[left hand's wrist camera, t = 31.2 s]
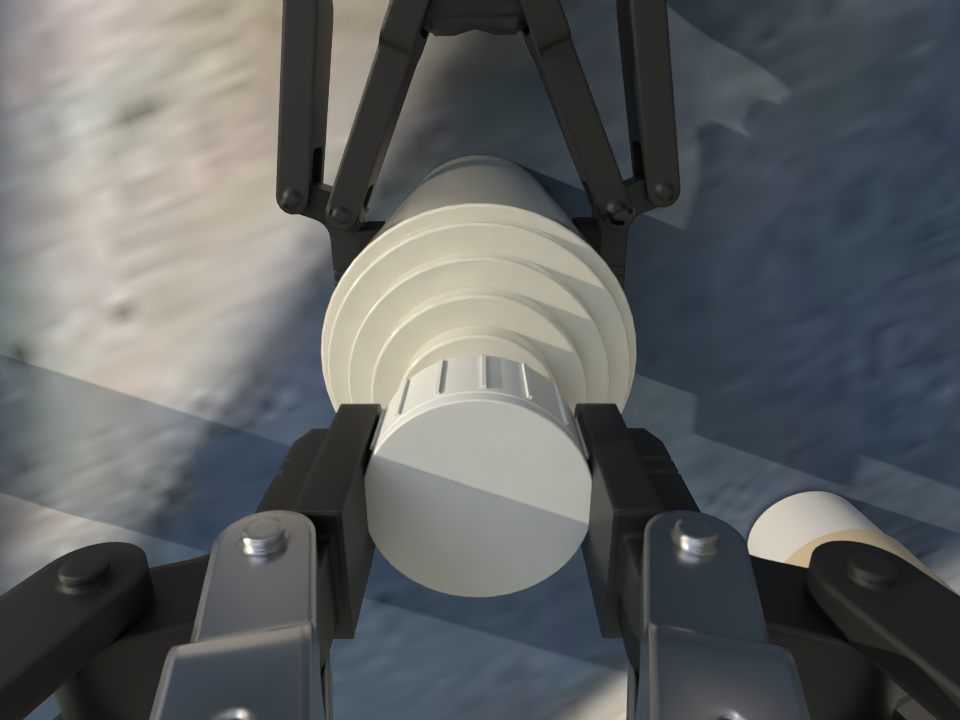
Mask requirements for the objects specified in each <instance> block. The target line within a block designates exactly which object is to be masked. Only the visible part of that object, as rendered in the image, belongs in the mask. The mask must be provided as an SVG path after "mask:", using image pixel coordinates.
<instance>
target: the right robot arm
mask: <svg viewBox="0 0 960 720" xmlns="http://www.w3.org/2000/svg"><path fill="white" fill-rule="evenodd" d="M616 5H617V22H618V32H619V41H620V51H621V61H622V71H623V81H624V91H625V101H626V110H627V120H628V130H629V140H630V150H631V160H632V170H633V177H632V178H630V179H627V180H624V181H623V179H622V177H621V174H620V171H619V169H618V166H617V163H616V160H615V158H614V155H613V152H612V149H611V147H610V144H609V141H608V138H607V136H606V133H605V130H604V127H603V125H602V122H601V119H600V116H599V114H598V111H597V108H596V106H595V103H594V100H593V97H592V95H591V92H590V89H589V86H588V84H587V81H586V78H585V75H584V73H583V70H582V67H581V64H580V62H579V59H578V56H577V54H576V51H575V48H574V45H573V42H572V39H571V33H570V28H569V25H568V22H567V19H566V16H565V14H564V11H563V8H562V5H561V3H560V0H390V2H389V6H388V9H387V12H386V15H385V18H384V21H383V24H382V28H381V31H380V37H379V44H378V48H377V51H376V54H375V57H374V61H373V64H372V67H371V70H370V73H369V76H368V79H367V82H366V86H365V89H364V92H363V95H362V98H361V101H360V104H359V107H358V110H357V114H356V117H355V120H354V123H353V126H352V129H351V132H350V135H349V138H348V142H347V145H346V148H345V151H344V154H343V157H342V160H341V163H340V166H339V170H338V173H337V176H336V179H335V182H334V185H333V186H330V185H327V184H324V183H323V176H324V160H325V144H326V128H327V112H328V96H329V80H330V64H331V48H332V32H333V2H332V0H283V20H282V47H281V75H280V102H279V130H278V157H277V185H276V199H277V203H278V205H279V207H280V208H281V209H282V210H283V211H284V212H286V213H289V214H300V215H303V216H306V217H309V218H312V219H315V220H317V221H319V222H321V223H322V224H323V225H324V226H325V227H326V228H327V230H328V232H329V234H330V238H331V247H332V257H333V266H334V275H335V285H336V287H337V285H338V283H339V281H340V279H341V277H342V276H343V274H344V273H345V272H346V270H347V269H348V267H349V266H350V265H351V263H352V262H353V260H354V259H355V258H356V257H357V256H358V254H359V253H360V252H361V251H362V250H363V249H364V247H365V246H366V245H367V244H368V243H369V242H370V240H371V239H372V238H373V237H374V236H375V235H376V233H377V232H378V231H379V230H380V229H381V228H382V226H383V225H384V224H385V221H368V222H367V223H366V219H365V214H366V213H367V212H368V210H369V209H367V208H368V205H369V202H370V199H371V196H372V193H373V190H374V187H375V184H376V181H377V179H378V176H379V173H380V170H381V167H382V164H383V161H384V158H385V155H386V152H387V150H388V147H389V144H390V141H391V138H392V135H393V132H394V129H395V126H396V123H397V121H398V118H399V115H400V112H401V109H402V106H403V103H404V100H405V97H406V95H407V92H408V89H409V86H410V83H411V80H412V77H413V74H414V71H415V68H416V66H417V63H418V61H419V59H420V57H421V55H422V52H423V49H424V47H425V44H426V41H427V38H428V35H429V32H430V33H433V34H434V36H455V35H458V34H461V33H464V32H467V31H470V30H474V29H477V30H481V31H484V32H488V33H491V34H495V35H509V34H516V33H517V32H518V31H522V34H523V37H524V39H525V42H526V44H527V47H528V49H529V52H530V54H531V56H532V58H533V59H534V61H535V64H536V66H537V69H538V71H539V74H540V77H541V79H542V82H543V84H544V87H545V89H546V92H547V95H548V97H549V100H550V102H551V105H552V107H553V110H554V113H555V115H556V118H557V120H558V123H559V125H560V128H561V131H562V133H563V136H564V138H565V141H566V143H567V146H568V149H569V151H570V154H571V156H572V159H573V161H574V164H575V167H576V169H577V172H578V174H579V177H580V179H581V182H582V185H583V187H584V190H585V192H586V195H587V197H588V200H589V202H590V205H591V208H592V219H591V218H590V217H578V218H573V219H572V222H573V224H574V225H575V226H576V227H577V228H578V230H579V231H580V232H581V233H582V234H583V236H584V237H585V238H586V239H587V240H588V242H589V243H590V244H591V245H592V246H593V248H594V249H595V250H596V251H597V252H598V254H599V255H600V256H601V257H602V258H603V260H604V261H605V262H606V264H607V265H608V266H609V268H610V269H611V271H612V272H613V274H614V275H615V277H616V278H617V280H618V282H619V284H620V286H621V288H622V290H623V289H624V274H625V260H626V245H627V232H628V227H629V225H630V224H631V223H632V222H633V221H634V219H635V217H636V216H638V215H640V214H641V213H644V212H647V211H649V210H652V209H655V208H657V207H667V206H670V205H672V204H673V203H674V202H675V201H676V200H677V199H678V197H679V195H680V177H679V164H678V150H677V137H676V124H675V110H674V97H673V84H672V70H671V57H670V44H669V30H668V17H667V4H666V0H617V2H616Z"/></svg>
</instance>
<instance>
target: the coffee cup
mask: <svg viewBox="0 0 960 720" xmlns="http://www.w3.org/2000/svg"><path fill="white" fill-rule="evenodd" d="M839 540H844V541H855V542H861V543H865V544H870V545H873V546H876V547H879V548H882V549H884V550H887V551H889V552H891V553H893V554H895V555H897V556H899V557H901V558H903V559H904V560H906V561H908V562H909V563H911V564H912V565H914V566H915V567H917V568H918V569H920V570H921V571H923V572H924V573H926V574H927V575H929V576H930V577H931V578H933V579H934V580H936V581H937V582H939V583H940V584H942V585H943V586H945V587H946V588H948V589H949V590H951V591H952V592H954V593H955V594H957V593H956V592H955V591H954V590H953V589H951V588H950V587H949V586H948V585H947V584H946V583H945V582H943V581H942V580H941V579H940V578H939V577H938V576H937V575H935V574H934V573H933V572H932V571H931V570H930V569H929V568H928V567H926V566H925V565H924V564H923V563H922V562H921V561H920V560H918V559H917V558H916V557H915V556H914V555H913V554H912V553H910V552H909V551H908V550H907V549H906V548H905V547H904V546H903V545H901V544H900V543H899V542H898V541H897V540H895V539H894V538H892V537H890V536H888V535H886V534H884V533H883V532H882V531H881V530H880V529H879V528H877V527H876V526H875V525H874V524H873V523H872V522H871V521H870V520H868V519H867V518H866V517H865V516H864V515H863V514H862V513H861V512H859V511H858V510H857V509H856V508H855V507H854V506H853V505H852V504H850V503H849V502H848V501H847V500H845V499H844V498H842V497H840V496H838V495H835V494H832V493H828V492H819V491H813V492H804V493H799V494H795V495H792V496H790V497H787V498H785V499H783V500H781V501H779V502H777V503H776V504H774V505H773V506H771V507H770V508H769V509H767V510H766V511H765V512H764V513H763V514H762V515H761V516H760V517H759V519H758V520H757V521H756V523H755V524H754V526H753V528H752V530H751V532H750V535H749V539H748V551H749V554H750V555H753V556H756V557H760V558H764V559H768V560H772V561H777V562H782V563H787V564H791V565H796V566H801V567H806V568H808V567H809V563H810V558H811V555H812V552H813V551H814V549H815V548H816V547H818V546H819V545H821V544H823V543H826V542H830V541H839ZM957 595H958V594H957ZM958 596H959V595H958ZM895 709H896V710H897V711H898V712H899V713H900V714H901V715H902V716H903V717H904V718H906V719H907V720H937V719H936V718H935V717H934V716H933V715H932V714H930V713H929V712H928V711H927V710H926V709H925V708H923V707H922V706H921V705H920V704H919V703H918V702H917V701H915V700H914V699H913V698H912V697H911V696H910V695H908V694H907V693H906V692H905V691H904V690H903V689H901V691H900V693H899V696H898V699H897V702H896V705H895Z"/></svg>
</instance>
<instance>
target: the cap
mask: <svg viewBox="0 0 960 720" xmlns="http://www.w3.org/2000/svg"><path fill="white" fill-rule="evenodd" d="M369 449H370V450H372V452H371V455H370V459H369V462H368V465H367V468H366V471H365V475H364V481H365V494H366V507H367V520H368V531H369V534H370V536H371V538H372V540H373V542H374V544H375V545H376V547H377V548H378V549H379V551H380V552H381V554H382V555H383V556H384V557H385V558H386V559H387V560H388V561H389V563H390V564H391V565H393V566H394V567H395V568H396V569H397V570H399V571H400V572H401V573H402V574H404V575H405V576H407V577H408V578H410V579H412V580H413V581H415V582H417V583H419V584H421V585H423V586H425V587H428V588H431V589H433V590H436V591H439V592H443V593H447V594H451V595H457V596H464V597H492V596H499V595H505V594H510V593H513V592H517V591H521V590H523V589H526V588H528V587H531V586H533V585H535V584H537V583H539V582H541V581H543V580H545V579H547V578H548V577H549V576H551V575H552V574H554V573H555V572H557V571H558V570H559V569H560V568H561V567H562V566H563V565H565V564H566V563H567V562H568V561H569V560H570V558H571V557H572V556H573V555H574V554H575V553H576V551H577V550H578V548H579V547H580V545H581V544H582V542H583V541H584V538H585V536H586V534H587V532H588V526H589V513H590V500H591V487H592V475H591V471H590V468H589V465H588V462H587V460H588V457H589V455H588V452H587V449H586V445H585V442H584V439H583V436H582V433H581V429H580V426H579V423H578V420H577V417H576V418H574V416H573V413H572V411H571V409H570V407H569V405H568V403H567V401H566V400H565V399H564V397H563V396H562V394H561V391H560V388H559V387H558V386H557V385H556V386H554V385H553V384H552V383H551V382H550V381H548V380H547V379H546V378H545V377H543V376H542V375H541V374H539V373H538V372H536V371H535V370H533V369H531V368H530V367H528V366H527V364H526V363H523V364H521V363H518V362H516V361H512V360H509V359H506V358H501V357H495V356H486V354H481V355H470V356H461V357H456V358H451V359H447V360H444V359H441V360H439V362H438V363H436V364H433V365H431V366H429V367H427V368H425V369H423V370H422V371H420V372H419V373H417V374H416V375H414V376H413V377H412V378H410V379H409V380H408V379H406V380H404V383H403V386H402V387H401V388H400V389H399V390H398V391H397V393H396V394H395V395H394V397H393V398H392V400H391V401H390V403H389V404H388V406H387V408H386V409H382V412H381V415H380V418H379V421H378V424H377V427H376V430H375V433H374V436H373V439H372V442H371V445H370V448H369Z"/></svg>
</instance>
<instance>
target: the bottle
mask: <svg viewBox="0 0 960 720" xmlns="http://www.w3.org/2000/svg"><path fill="white" fill-rule="evenodd" d="M481 354H486V356H495V357H501V358H506V359H509V360H512V361H516V362H518V363H521V364H523V363H526V364H527V366H528V367H530V368H531V369H533V370H535V371H536V372H538V373H539V374H541V375H542V376H543V377H545V378H546V379H547V380H548V381H550V382H551V383H552V384H553V385H554V386H556V385H557V386H558V387H559V388H560V391H561V394H562V396H563V397H564V399H565V400H566V401H567V403H568V405H569V407H570V409H571V411H572V413H573V416H574V412H575V406H576V404H577V403H615V404H616V405H617V407H618V409H619V412H620V414H621V413H622V411H623V409H624V407H625V404H626V402H627V399H628V397H629V394H630V391H631V387H632V383H633V379H634V375H635V367H636V357H637V348H636V333H635V327H634V321H633V316H632V313H631V310H630V307H629V304H628V301H627V298H626V296H625V294H624V292H623V290H622V288H621V286H620V284H619V282H618V280H617V278H616V277H615V275H614V274H613V272H612V271H611V269H610V268H609V266H608V265H607V264H606V262H605V261H604V260H603V258H602V257H601V256H600V255H599V254H598V252H597V251H596V250H595V249H594V248H593V246H592V245H591V244H590V243H589V242H588V240H587V239H586V238H585V237H584V236H583V234H582V233H581V232H580V231H579V230H578V228H577V227H576V226H575V225H574V224H573V222H572V221H571V220H570V219H569V217H568V216H567V215H566V214H565V213H564V211H563V210H562V209H561V208H560V207H559V205H558V204H557V203H556V202H555V201H554V199H553V198H552V197H551V196H550V195H549V193H548V192H547V191H546V190H545V189H544V187H543V186H542V185H541V184H540V183H539V182H538V181H537V180H536V178H535V177H534V176H532V175H531V174H530V173H529V172H528V171H526V170H525V169H523V168H522V167H520V166H519V165H517V164H515V163H513V162H510V161H508V160H505V159H502V158H498V157H493V156H487V155H473V156H465V157H461V158H457V159H454V160H451V161H449V162H447V163H444V164H443V165H441V166H439V167H438V168H436V169H434V170H433V171H432V172H431V173H429V174H428V175H427V176H426V177H425V178H424V179H423V180H422V181H421V182H420V183H419V184H418V185H417V186H416V188H415V189H414V190H413V191H412V192H411V194H410V195H409V196H408V197H407V198H406V199H405V201H404V202H403V203H402V204H401V205H400V206H399V208H398V209H397V210H396V211H395V212H394V213H393V215H392V216H391V217H390V218H389V219H388V220H387V222H386V223H385V224H384V225H383V226H382V228H381V229H380V230H379V231H378V232H377V233H376V235H375V236H374V237H373V238H372V239H371V240H370V242H369V243H368V244H367V245H366V246H365V247H364V249H363V250H362V251H361V252H360V253H359V254H358V256H357V257H356V258H355V259H354V260H353V262H352V263H351V265H350V266H349V267H348V269H347V270H346V272H345V273H344V274H343V276H342V277H341V279H340V281H339V283H338V285H337V287H336V289H335V291H334V293H333V295H332V297H331V300H330V303H329V306H328V309H327V312H326V315H325V320H324V325H323V331H322V343H321V358H322V369H323V375H324V379H325V384H326V388H327V391H328V394H329V397H330V399H331V402H332V404H333V407H334V409H335V411H336V413H337V411H338V409H339V407H340V405H341V404H380V405H381V407H382V409H386V408H387V406H388V404H389V403H390V401H391V400H392V398H393V397H394V395H395V394H396V393H397V391H398V390H399V389H400V388H401V387H402V386H403V383H404V380H406V379H408V380H409V379H410V378H412V377H413V376H414V375H416V374H417V373H419V372H420V371H422V370H423V369H425V368H427V367H429V366H431V365H433V364H436V363H438V362H439V360H441V359H444V360H447V359H451V358H456V357H461V356H470V355H481Z"/></svg>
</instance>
